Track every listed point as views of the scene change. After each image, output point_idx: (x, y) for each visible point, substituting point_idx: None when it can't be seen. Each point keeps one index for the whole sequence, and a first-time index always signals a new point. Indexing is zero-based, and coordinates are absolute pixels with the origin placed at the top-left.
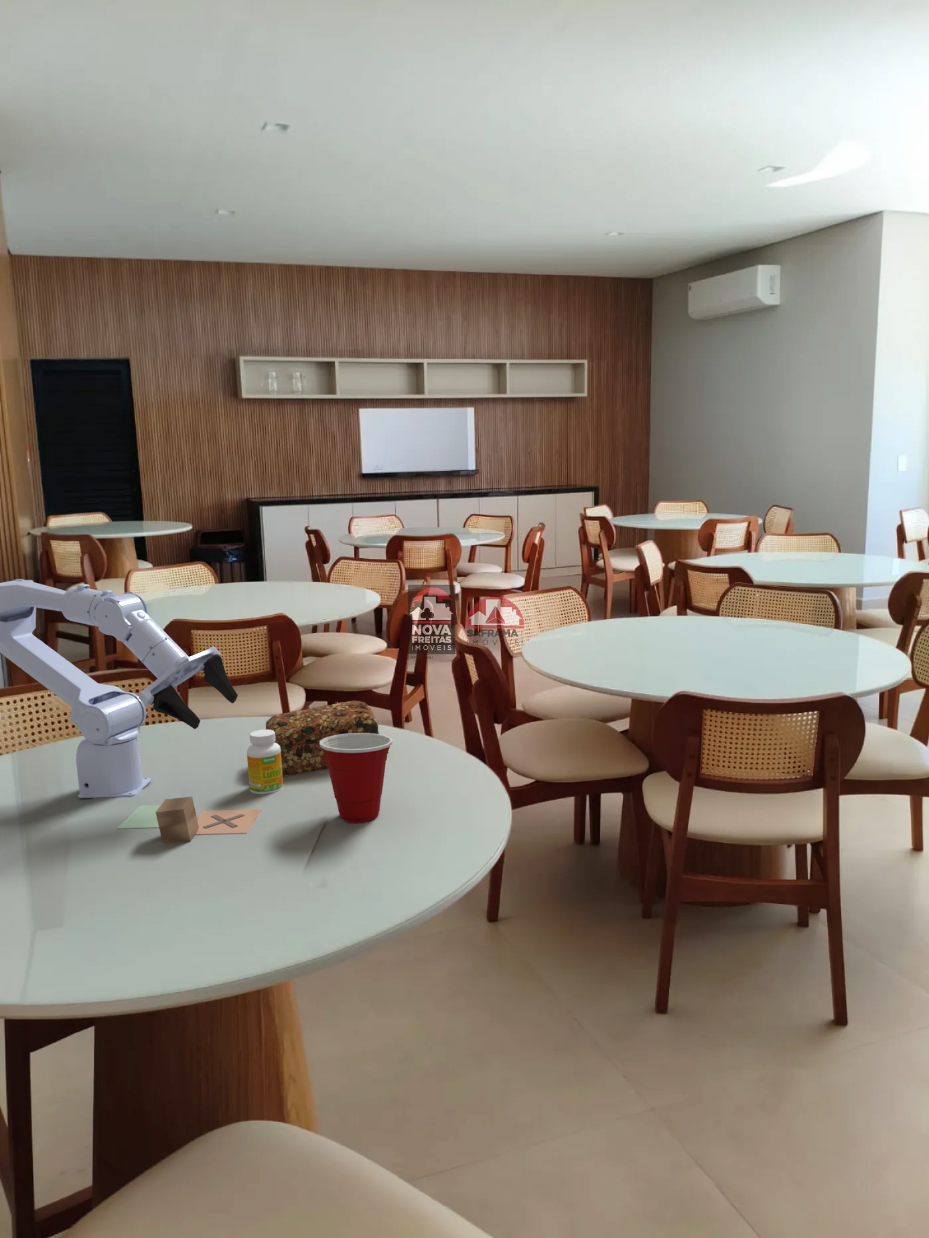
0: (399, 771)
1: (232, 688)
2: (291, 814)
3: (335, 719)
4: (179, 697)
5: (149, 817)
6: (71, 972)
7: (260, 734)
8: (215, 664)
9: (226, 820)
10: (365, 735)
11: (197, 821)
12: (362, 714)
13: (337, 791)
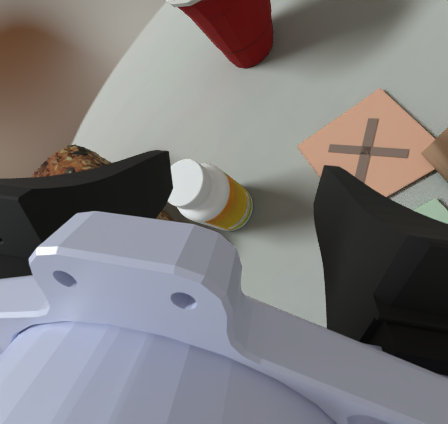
0: (134, 123)
1: (142, 155)
2: (285, 109)
3: (83, 170)
4: (367, 209)
5: None
6: None
7: (190, 176)
8: (46, 184)
9: (363, 148)
10: None
11: (426, 148)
12: (62, 154)
13: (268, 7)
